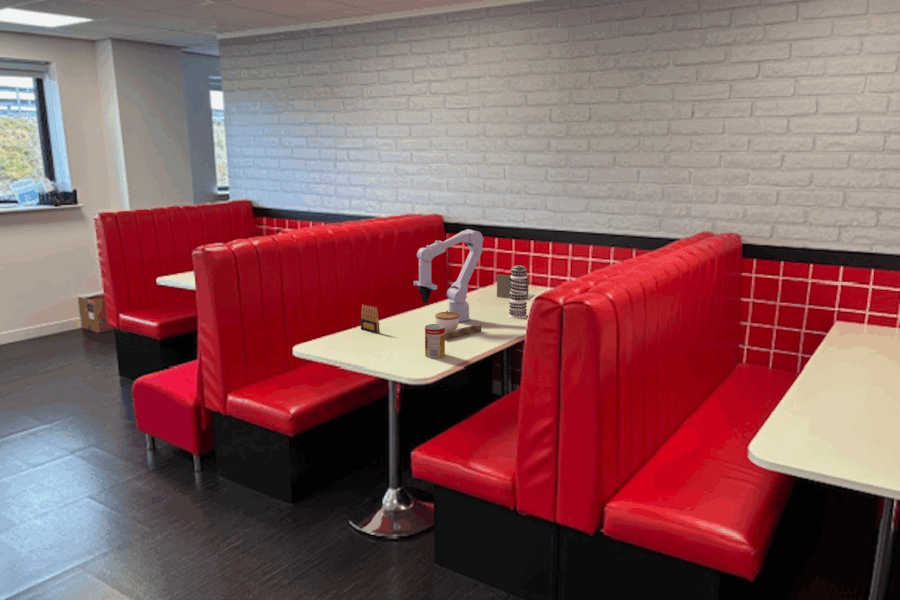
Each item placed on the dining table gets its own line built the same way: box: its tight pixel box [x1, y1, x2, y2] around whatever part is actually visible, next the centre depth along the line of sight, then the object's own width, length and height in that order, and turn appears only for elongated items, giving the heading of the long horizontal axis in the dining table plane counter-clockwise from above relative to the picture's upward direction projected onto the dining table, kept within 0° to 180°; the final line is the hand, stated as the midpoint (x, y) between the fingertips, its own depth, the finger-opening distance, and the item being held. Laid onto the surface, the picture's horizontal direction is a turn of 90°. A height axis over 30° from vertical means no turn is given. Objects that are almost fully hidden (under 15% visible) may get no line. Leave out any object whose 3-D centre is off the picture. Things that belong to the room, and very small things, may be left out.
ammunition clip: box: [360, 303, 381, 334], centre depth 309 cm, size 11×2×12 cm, turn 48°
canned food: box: [424, 323, 446, 359], centre depth 274 cm, size 8×8×12 cm
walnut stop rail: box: [445, 323, 483, 341], centre depth 303 cm, size 22×2×3 cm, turn 132°
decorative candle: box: [508, 264, 529, 319], centre depth 335 cm, size 9×9×25 cm
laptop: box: [496, 274, 535, 301], centre depth 380 cm, size 18×12×13 cm
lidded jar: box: [434, 310, 460, 332], centre depth 310 cm, size 11×11×9 cm
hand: (425, 302), depth 320 cm, fingers closed
